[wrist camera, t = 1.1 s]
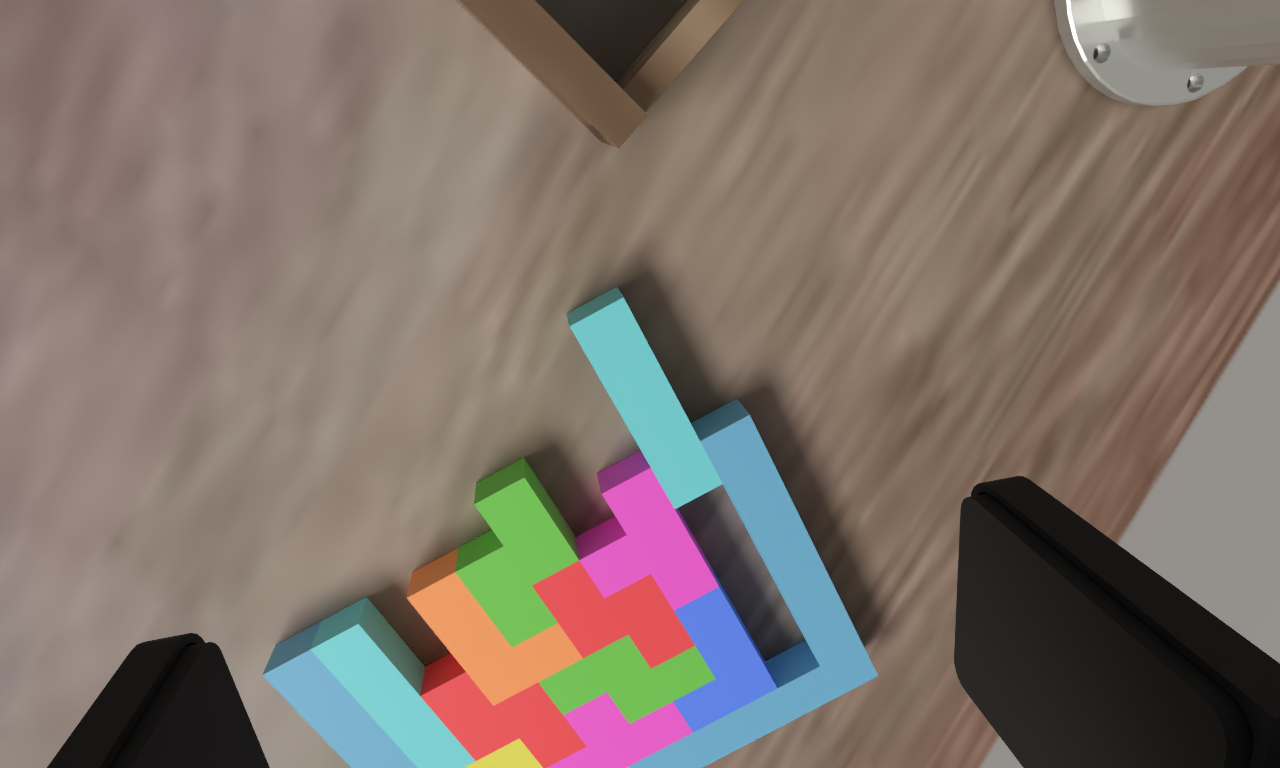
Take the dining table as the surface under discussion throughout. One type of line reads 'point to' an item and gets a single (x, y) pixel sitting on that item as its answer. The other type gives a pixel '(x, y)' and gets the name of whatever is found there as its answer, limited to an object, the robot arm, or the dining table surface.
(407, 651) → the tetris game
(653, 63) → the open wooden box
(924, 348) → the dining table surface
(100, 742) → the robot arm
